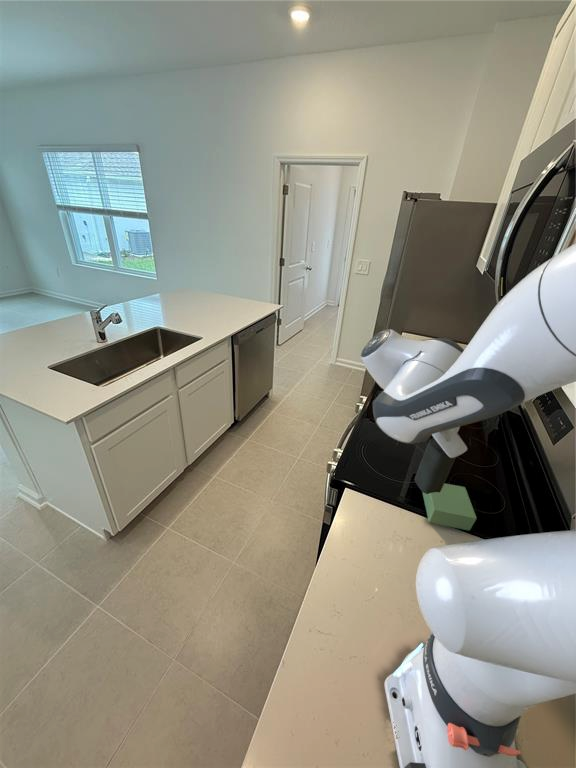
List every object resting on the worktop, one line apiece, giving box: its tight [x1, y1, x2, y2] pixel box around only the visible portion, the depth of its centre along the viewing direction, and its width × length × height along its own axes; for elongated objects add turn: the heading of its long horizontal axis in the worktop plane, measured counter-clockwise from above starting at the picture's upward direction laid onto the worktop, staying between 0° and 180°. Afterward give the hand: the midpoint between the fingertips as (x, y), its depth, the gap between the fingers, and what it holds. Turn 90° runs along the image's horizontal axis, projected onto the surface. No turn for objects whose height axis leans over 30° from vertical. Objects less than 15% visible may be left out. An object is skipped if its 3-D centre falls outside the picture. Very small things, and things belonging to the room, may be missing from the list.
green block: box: [421, 482, 477, 532], centre depth 82 cm, size 10×10×5 cm
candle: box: [414, 426, 461, 494], centre depth 69 cm, size 5×5×25 cm
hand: (450, 436), depth 67 cm, fingers closed on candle, 3 cm apart
